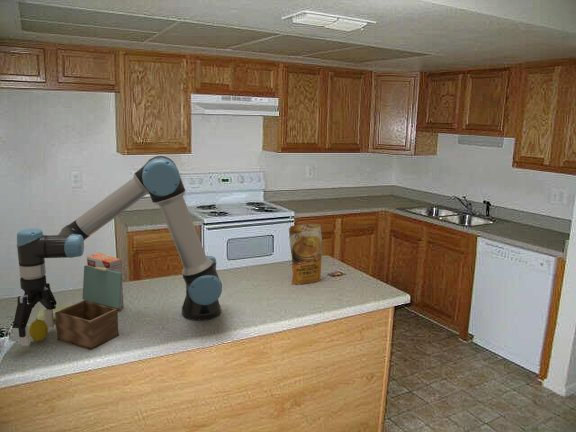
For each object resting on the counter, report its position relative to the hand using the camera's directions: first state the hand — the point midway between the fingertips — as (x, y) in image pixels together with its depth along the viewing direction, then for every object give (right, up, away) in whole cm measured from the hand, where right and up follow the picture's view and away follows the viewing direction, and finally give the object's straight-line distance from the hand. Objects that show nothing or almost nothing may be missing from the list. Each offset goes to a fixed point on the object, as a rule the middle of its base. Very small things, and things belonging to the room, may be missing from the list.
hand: (37, 335), depth 158 cm
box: (+15, -2, +5) cm, 16 cm away
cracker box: (+11, +4, +31) cm, 33 cm away
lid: (+18, +16, +6) cm, 25 cm away
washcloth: (-1, +1, +21) cm, 21 cm away
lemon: (0, -2, +1) cm, 3 cm away
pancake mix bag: (+93, +9, +67) cm, 115 cm away
